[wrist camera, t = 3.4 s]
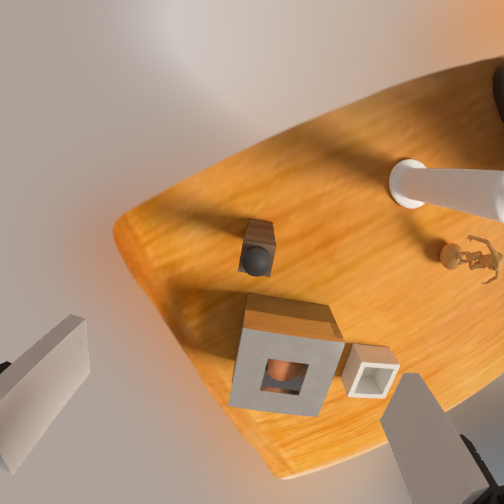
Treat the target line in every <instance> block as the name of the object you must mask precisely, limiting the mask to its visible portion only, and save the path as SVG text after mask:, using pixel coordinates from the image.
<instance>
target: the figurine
mask: <svg viewBox="0 0 504 504" xmlns="http://www.w3.org/2000/svg"><path fill="white" fill-rule="evenodd" d="M468 237H469V238H468V239H471V240H472V239H474V240H477V241H479V242H483V243H486V244H487V246H488V248H489V250H490V252H491V254H488V255H482V252H481V251H478V252H474V253H470V252H463V250H462V249H461V247H460V246H459V245H457V244H454V243H450V244H447V245H445V246H444V247H443V248H442V250H441V253H440V260H441V263H442V265H443V266H444V267H445V268H447V269H450V270H454V269H457V268H458V267H460V265H462V264H463V263H468V262H469V268H470V270H473V269H478V268H486V266H487V267H488V268H489V269H491V270H495V271H496V276H495V277H493V278H491V279H489V280H488V281H487V282H484V283H481V284H488V283H490V282H492V281H493V280H496V279H498V278H499V274H500V270H501V266H502V264H503V263H504V256H503V255H502V254H501V253H498V252H496V250H495V249H494V248H493V247H492V245H491V243H490V242H489V241H488V240H486V239H482V238H478V237H474V236H472V235H468ZM471 240H470V241H471ZM464 255H466V259H467V260H463V259H464ZM472 260H473V261H476V260H478V261H477V262H475V263H474V264H473V261H472Z"/></svg>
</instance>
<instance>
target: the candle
mask: <svg viewBox="0 0 504 504" xmlns="http://www.w3.org/2000/svg"><path fill="white" fill-rule="evenodd" d="M389 189H390V192H391V195H392V197H393V198H394V200H395V201H396V202H397V203H398V204H399V205H401V206H403V207H406V208H411V209H413V208H418V207H420V206H422V205H423V204H424V203H428V204H433V205H437V206H441V207H446V208H450V209H454V210H458V211H462V212H466V213H470V214H474V215H477V216H481V217H485V218H488V219H492V220H496V221H499V222H503V223H504V171H498V170H479V169H449V168H426V167H425V166H424V165H423V164H422V163H421V162H419V161H417V160H413V159H406V160H402V161H400V162H399V163H397V164H396V165H395V166H394V168H393V169H392V171H391V173H390V177H389Z"/></svg>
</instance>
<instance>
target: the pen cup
mask: <svg viewBox="0 0 504 504" xmlns="http://www.w3.org/2000/svg"><path fill="white" fill-rule="evenodd" d="M399 366H400V364H399V362H398V361H397V359H396V358H395V356H394V354H393V353H392V351H391V350H390V348H389V347H382V346H372V345H363V344H354V343H353V344H352V347H351V350H350V353H349V356H348V358H347V361H346V364H345V367H344V369H343V372H342V374H341V379H342V382H343V385H344V388H345V391H346V394H347V397H361V398H385V397H386V395H387V393H388V390H389V388H390V386H391V384H392V382H393V380H394V378H395V375H396V373H397V371H398V369H399Z"/></svg>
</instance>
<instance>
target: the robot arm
mask: <svg viewBox="0 0 504 504" xmlns="http://www.w3.org/2000/svg"><path fill="white" fill-rule="evenodd" d="M493 89H494V97H495V101H496V105H497V108H498V111H499V113H500V115H501V118H502V120H503V121H504V64H502V65H500V66H499V67H498V68H497V70H496V72H495V75H494V81H493ZM89 373H90V367H89V357H88V345H87V331H86V319H85V318H81V317H78V316H75V315H72V314H70V315H69V316H68V317H67V318H65V319H64V320H63V321H62V322H61V323H59V324H58V325H57V326H56V327H55V328H53V329H52V330H51V331H50V332H49V333H47V334H46V335H45V336H44V337H43V338H41V339H40V340H39V341H38V342H36V343H35V344H34V345H33V346H32V347H31V348H30V349H28V350H27V351H26V352H25V353H24V354H23V355H21V356H20V357H19V358H18V359H17V360H16V361H15V362H14V363H9V362H5V363H2V364H0V468H1V469H3V470H4V471H6V472H7V473H9V474H11V475H12V476H13V475H14V474H15V472H16V471H17V470H18V468H19V467H20V465H21V464H22V462H23V461H24V459H25V458H26V457H27V455H28V454H29V453H30V451H31V450H32V448H33V447H34V445H35V444H36V443H37V441H38V440H39V439H40V437H41V436H42V435H43V433H44V432H45V430H46V429H47V428H48V427H49V425H50V424H51V423H52V421H53V420H54V419H55V417H56V416H57V415H58V413H59V412H60V411H61V409H62V408H63V407H64V405H65V404H66V403H67V401H68V400H69V399H70V397H71V396H72V395H73V394H74V392H75V391H76V390H77V389H78V387H79V386H80V385H81V383H82V382H83V381H84V380H85V378H86V377H87V376H88V374H89ZM380 422H381V424H382V426H383V429H384V431H385V434H386V436H387V438H388V441H389V443H390V445H391V448H392V451H393V453H394V456H395V458H396V461H397V463H398V466H399V469H400V471H401V474H402V476H403V479H404V481H405V484H406V487H407V489H408V492H409V495H410V497H411V500H412V503H413V504H504V486H498V485H497V483H496V482H495V480H494V478H493V477H492V475H491V473H490V472H489V470H488V468H487V467H486V465H485V463H484V462H483V460H481V457H480V455H479V454H478V453H477V450H476V449H475V447H474V446H473V444H472V443H471V441H469V440H468V439H467V438H466V437H465V436H464V435H462V434H461V435H459V434H458V432H457V431H456V429H455V428H454V426H453V425H452V423H451V422H450V420H449V419H448V417H447V415H446V414H445V412H444V411H443V409H442V408H441V406H440V405H439V403H438V402H437V400H436V399H435V397H434V396H433V394H432V393H431V391H430V390H429V388H428V387H427V385H426V384H425V382H424V381H423V380H422V378H421V377H420V375H419V374H418V373H403V375H402V378H401V380H400V382H399V384H398V386H397V388H396V390H395V392H394V394H393V396H392V398H391V400H390V402H389V404H388V406H387V408H386V410H385V412H384V414H383V416H382V418H381V420H380Z"/></svg>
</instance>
